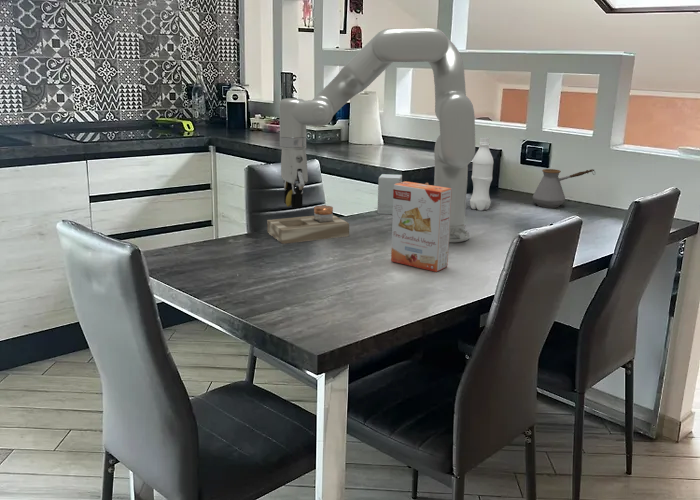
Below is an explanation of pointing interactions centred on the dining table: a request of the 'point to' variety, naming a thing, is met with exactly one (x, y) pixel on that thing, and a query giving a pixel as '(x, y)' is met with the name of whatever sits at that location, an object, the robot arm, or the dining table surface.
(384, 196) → the supplement box
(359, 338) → the dining table surface
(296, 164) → the robot arm
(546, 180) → the coffee pot
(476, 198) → the water bottle
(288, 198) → the knob
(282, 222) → the mount
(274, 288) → the dining table surface
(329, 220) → the plunger
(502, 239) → the dining table surface
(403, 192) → the cracker box
